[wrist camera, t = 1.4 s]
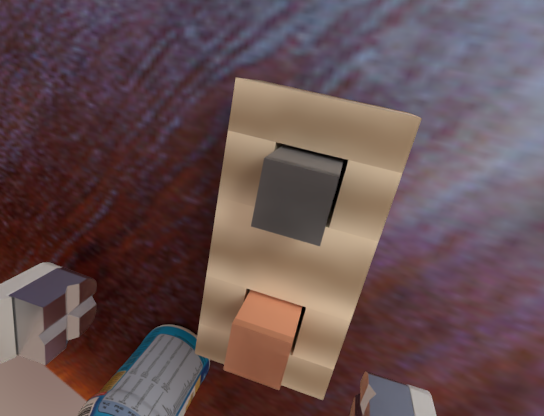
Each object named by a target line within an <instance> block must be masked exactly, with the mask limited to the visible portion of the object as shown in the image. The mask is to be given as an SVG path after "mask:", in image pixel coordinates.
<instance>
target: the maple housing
mask: <svg viewBox="0 0 544 416" xmlns="http://www.w3.org/2000/svg"><path fill="white" fill-rule="evenodd" d="M421 119H422V118H420V117H417V116H415V115H413V114H410V113H407V112H403V111H398V110H394V109H389V108H384V107H380V106H375V105H371V104H366V103H361V102H357V101H352V100H348V99H343V98H339V97H334V96H329V95H325V94H320V93H316V92H311V91H307V90H302V89H297V88H293V87H288V86H284V85H279V84H274V83H270V82H265V81H261V80H253V79H244V78H236V80H235V87H234V93H233V100H232V107H231V113H230V120H229V127H228V134H227V140H226V147H225V154H224V160H223V167H222V174H221V180H220V187H219V194H218V201H217V207H216V214H215V221H214V227H213V234H212V241H211V248H210V254H209V261H208V268H207V274H206V281H205V288H204V294H203V301H202V308H201V315H200V321H199V328H198V335H197V341H196V348H195V354H197V355H200V356H202V357H205V358H208V359H211V360H213V361H216V362H219V363H222V364H224V363H225V358H226V353H227V347H228V342H229V337H230V332H231V327H232V323H233V321H234V319H235V317H236V315H237V314H238V312H239V310H240V308H241V306H242V305H243V303H244V301H245V299H246V297H247V295H248V294H249V292H250V290H253V291H257V292H260V293H263V294H266V295H269V296H272V297H275V298H278V299H282V300H285V301H288V302H291V303H294V304H297V305H300V306H303V307H305V309H304V313H302V312H301V314H300V318H299V321H298V325H297V329H296V333H295V336H294V340H293V344H292V347H291V351H290V355H289V358H288V362H287V365H286V369H285V372H284V376H283V379H282V383H281V385H283V386H285V387H288V388H291V389H294V390H296V391H299V392H302V393H305V394H307V395H310V396H313V397H316V398H319V399H321V400H323V398H324V395H325V393H326V390H327V387H328V384H329V381H330V378H331V375H332V373H333V370H334V367H335V364H336V361H337V358H338V355H339V353H340V350H341V347H342V344H343V341H344V338H345V336H346V333H347V330H348V327H349V324H350V321H351V318H352V316H353V313H354V310H355V307H356V304H357V301H358V298H359V296H360V293H361V290H362V287H363V284H364V281H365V278H366V276H367V273H368V270H369V267H370V264H371V261H372V259H373V256H374V253H375V250H376V247H377V244H378V241H379V239H380V236H381V233H382V230H383V227H384V224H385V221H386V219H387V216H388V213H389V210H390V207H391V204H392V202H393V199H394V196H395V193H396V190H397V187H398V184H399V182H400V179H401V176H402V173H403V170H404V167H405V164H406V162H407V159H408V156H409V153H410V150H411V147H412V144H413V142H414V139H415V136H416V133H417V130H418V127H419V125H420V122H421ZM282 145H288V146H289V145H290V146H294V147H298V148H302V149H306V150H310V151H314V152H318V153H322V154H326V155H330V156H334V157H338V158H342V159H346V160H347V162H346V165H345V169H344V172H343V176H342V179H341V183H340V186H339V190H338V193H337V197H336V200H335V203H334V202H332V206H331V209H330V213H329V216H328V220H327V223H326V227H325V230H324V234H323V237H322V241H321V245H320V246H317V245H313V244H310V243H306V242H303V241H299V240H296V239H293V238H289V237H286V236H282V235H279V234H275V233H272V232H268V231H265V230H261V229H258V228H255V227H251V223H252V218H253V213H254V208H255V202H256V197H257V192H258V187H259V182H260V177H261V171H262V166H263V161H264V158H265V157H266V156H268V155H269V154H271V153H272V152H273V151H275V150H276V149H278V148H279V147H281V146H282Z"/></svg>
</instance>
